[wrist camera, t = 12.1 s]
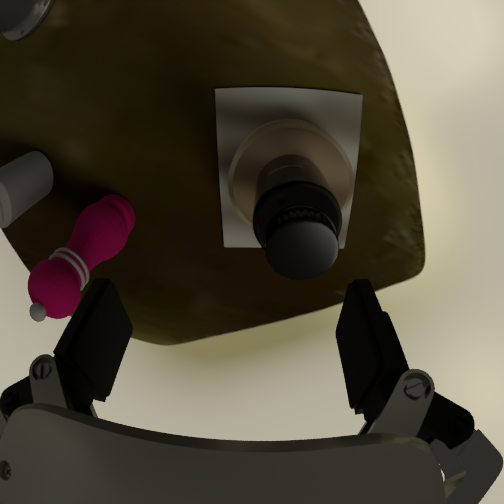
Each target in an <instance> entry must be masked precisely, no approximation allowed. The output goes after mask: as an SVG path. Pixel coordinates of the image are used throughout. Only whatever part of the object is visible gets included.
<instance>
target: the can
mask: <svg viewBox="0 0 504 504" xmlns="http://www.w3.org/2000/svg"><path fill="white" fill-rule="evenodd" d="M52 185H53V170H52V166H51V164H50V162H49V160H48V159H47V158H46V157H45V155H44V154H42V153H41V152H38V151H32V152H29V153H27V154H25V155H23V156H21V157H19V158H18V159H16V160H14V161H12V162H10V163H8V164H6V165H5V166H3V167H1V168H0V227H1V228H4V227H7V226H8V225H9V224H11V223H12V222H13V221H14V220H15V219H16V218H18V217H19V216H20V215H21V214H23V213H24V212H25V211H26V210H28V209H29V208H30V207H31V206H33V205H34V204H35V203H37V202H38V201H39V200H41V199H42V198H43V197H45V196H46V195H47V194H49V192H50V191H51V189H52Z"/></svg>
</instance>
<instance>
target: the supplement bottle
mask: <svg viewBox="0 0 504 504" xmlns="http://www.w3.org/2000/svg"><path fill="white" fill-rule="evenodd" d="M252 220H253V231H254V234H255V237H256V239H257V241H258V242H259V244H260V245H261V247H262V248H263V249H264V250H265V251H266V257H267V260H268V263H270V265H271V268H273V269H274V270H275V272H277V273H279V274H280V275H281V276H284V277H285V278H290V279H292V280H295V279H296V280H307V279H313V278H314V277H319V276H320V275H321V274H324V273H325V272H326V271H327V270H329V269H330V267H331V266H332V265H333V264H334V261H335V260H336V259H337V255H338V254H339V251H338V249H339V243H338V242H339V239H338V236H339V234H340V231H341V227H342V213H341V209H340V206H339V204H338V201H337V199H336V198H335V196H334V194H333V192H332V190H331V188H330V187H329V185H328V183H327V181H326V179H325V178H324V176H323V174H322V172H321V171H320V169H319V168H318V167H317V166H316V165H315V164H314V163H313V162H312V161H311V160H309V159H307V158H305V157H303V156H300V155H294V154H288V155H282V156H279V157H276V158H274V159H272V160H271V161H269V162H268V163H267V164H266V165H265V166H264V167H263V168H262V170H261V172H260V174H259V176H258V179H257V184H256V191H255V200H254V209H253V219H252Z"/></svg>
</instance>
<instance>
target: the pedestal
mask: <svg viewBox="0 0 504 504" xmlns="http://www.w3.org/2000/svg"><path fill="white" fill-rule="evenodd" d="M215 102H216V125H217V145H218V163H219V180H220V195H221V210H222V224H223V237H224V247H261V245H260V244H259V242H258V241H257V239H256V237H255V234H254V231H253V220H252V219H253V209H254V200H255V191H256V184H257V179H258V176H259V174H260V172H261V170H262V168H263V167H264V166H265V165H266V164H267V163H268V162H269V161H271V160H272V159H274V158H276V157H279V156H282V155H288V154H294V155H300V156H303V157H305V158H307V159H309V160H311V161H312V162H313V163H314V164H315V165H316V166H317V167H318V168H319V169H320V171H321V172H322V174H323V176H324V178H325V179H326V181H327V183H328V185H329V187H330V188H331V190H332V192H333V194H334V196H335V198H336V199H337V201H338V204H339V206H340V209H341V213H342V227H341V231H340V234H339V236H338V239H339V242H338V243H339V248H344V245H345V240H346V234H347V229H348V223H349V217H350V211H351V204H352V198H353V191H354V183H355V175H356V167H357V158H358V149H359V138H360V127H361V113H362V95H357V94H351V93H343V92H335V91H325V90H314V89H300V88H275V87H247V88H222V89H215Z"/></svg>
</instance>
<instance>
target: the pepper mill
mask: <svg viewBox="0 0 504 504" xmlns="http://www.w3.org/2000/svg"><path fill="white" fill-rule="evenodd" d="M135 221H136V217H135V212H134V209H133V207H132V205H131V204H130V203H129V202H128V201H127V200H126V199H125V198H123V197H122V196H119V195H116V194H109V195H106V196H104V197H103V198H102V199H101V200H100V201H98V202H97V203H93V204H91V205H89V206H87V207H86V208H85V209H84V210H83V211H82V213H81V214H80V216H79V217H78V219H77V221H76V224H75V227H74V231H73V234H72V236H71V238H70V240H69V242H68V243H67V245H66V246H65V247H64V248H59V249H57V250H55V252H54V253H53V254H52V255H51V256H50V258H49V260H44V261H41V262H40V263H38V264H37V265H36V266H35V267H34V269H33V270H32V272H31V273H30V276H29V280H28V292H29V295H30V298H31V300H32V302H33V304H32V305H31V307H30V316H31V317H32V319H33V320H35V321H37V322H40V321H43V320H44V318H45V317H46V316H48V317H51V318H55V319H61V318H65V317H67V316H69V315H70V314H71V313H73V311H74V310H75V309H76V308H77V306H78V304H79V302H80V297H81V292H80V291H81V290H83V288H84V286H85V285H86V284H87V282H88V280H89V272H90V271H91V270H92V269H93V268H94V266H96V265H97V264H98V263H100V262H102V261H104V260H107V259H110V258H112V257H113V256H115V255H116V254H117V253H118V252H119V251H120V250H121V249H122V248H123V247H124V245H125V244H126V241H127V238H128V234H129V233H130V231H131V230H132V229H133V227H134V225H135Z"/></svg>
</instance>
